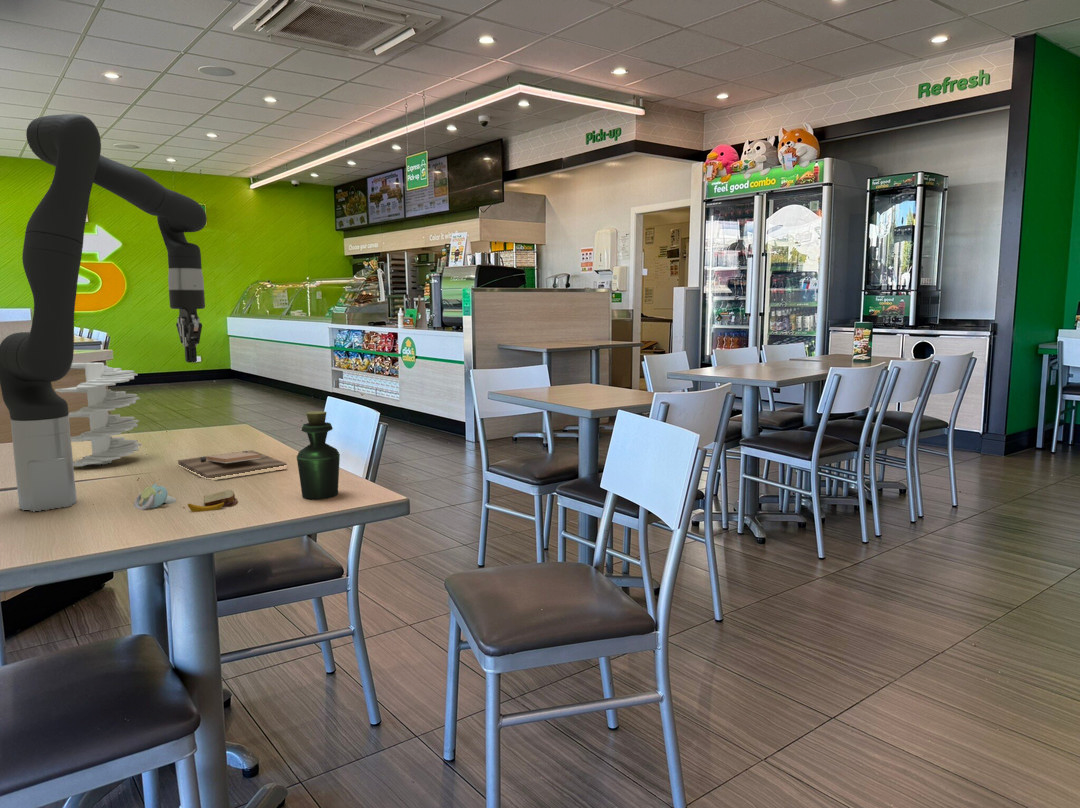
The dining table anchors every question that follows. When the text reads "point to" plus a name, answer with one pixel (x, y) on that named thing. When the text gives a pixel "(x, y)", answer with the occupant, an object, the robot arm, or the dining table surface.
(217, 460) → the flip tile
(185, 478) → the dining table surface
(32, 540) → the dining table surface
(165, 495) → the pacifier
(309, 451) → the potion bottle
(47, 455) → the robot arm
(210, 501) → the toy sandwich meal
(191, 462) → the board
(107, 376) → the spiral staircase
